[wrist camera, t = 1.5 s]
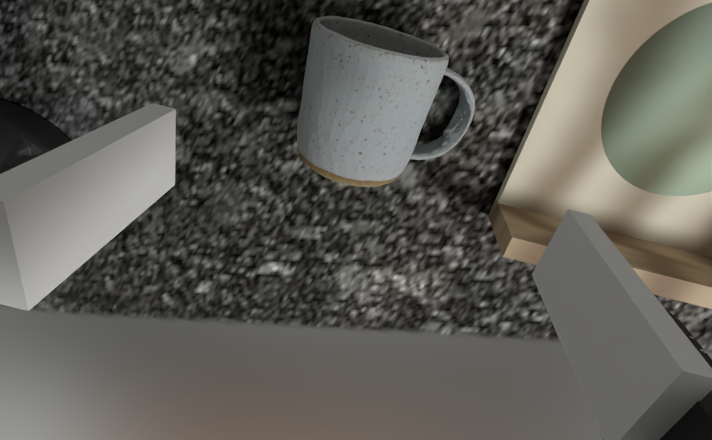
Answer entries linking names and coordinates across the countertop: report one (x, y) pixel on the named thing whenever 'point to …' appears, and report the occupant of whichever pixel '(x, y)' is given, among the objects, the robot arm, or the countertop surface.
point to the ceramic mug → (372, 101)
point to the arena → (623, 144)
